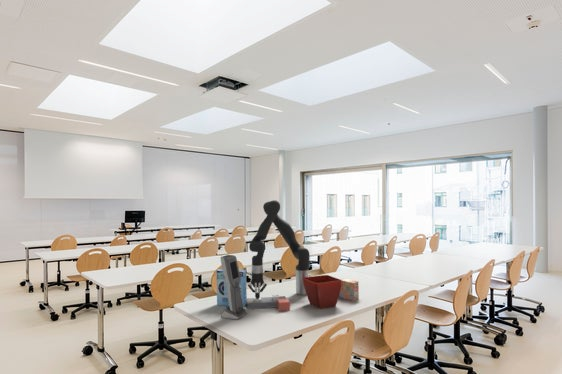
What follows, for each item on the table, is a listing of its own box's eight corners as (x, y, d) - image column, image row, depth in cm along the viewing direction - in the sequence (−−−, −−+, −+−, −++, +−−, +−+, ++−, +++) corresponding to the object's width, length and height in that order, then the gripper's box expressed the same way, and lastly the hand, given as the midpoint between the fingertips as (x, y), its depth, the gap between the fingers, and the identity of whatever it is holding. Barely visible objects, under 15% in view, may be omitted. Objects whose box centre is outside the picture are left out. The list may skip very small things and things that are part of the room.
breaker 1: (260, 301, 225) (260, 297, 225) (261, 303, 220) (261, 299, 220) (254, 301, 224) (254, 297, 225) (255, 303, 220) (255, 299, 220)
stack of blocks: (328, 295, 243) (327, 278, 244) (333, 293, 248) (332, 276, 248) (354, 301, 228) (353, 282, 229) (359, 299, 233) (358, 280, 234)
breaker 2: (278, 298, 227) (278, 294, 227) (279, 300, 222) (279, 296, 222) (272, 298, 227) (272, 295, 227) (273, 301, 222) (273, 297, 222)
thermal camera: (229, 311, 210) (228, 254, 211) (247, 313, 205) (247, 255, 207) (218, 317, 199) (218, 257, 201) (238, 320, 194) (237, 258, 196)
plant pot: (302, 302, 226) (302, 277, 226) (327, 299, 233) (326, 274, 234) (316, 311, 208) (316, 283, 209) (343, 307, 215) (342, 280, 216)
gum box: (246, 305, 222) (246, 270, 223) (243, 307, 217) (243, 271, 218) (220, 303, 228) (219, 268, 229) (216, 305, 223) (216, 270, 224)
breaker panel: (284, 300, 231) (284, 294, 232) (288, 305, 220) (288, 299, 220) (246, 303, 227) (246, 297, 227) (247, 308, 215) (247, 302, 215)
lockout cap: (287, 306, 219) (287, 298, 219) (289, 310, 211) (289, 301, 211) (277, 307, 217) (277, 299, 218) (279, 310, 210) (279, 302, 210)
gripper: (266, 270, 228) (266, 296, 227) (246, 271, 226) (246, 297, 225) (268, 272, 221) (268, 299, 220) (247, 273, 219) (247, 300, 218)
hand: (257, 298), depth 222 cm, fingers closed
